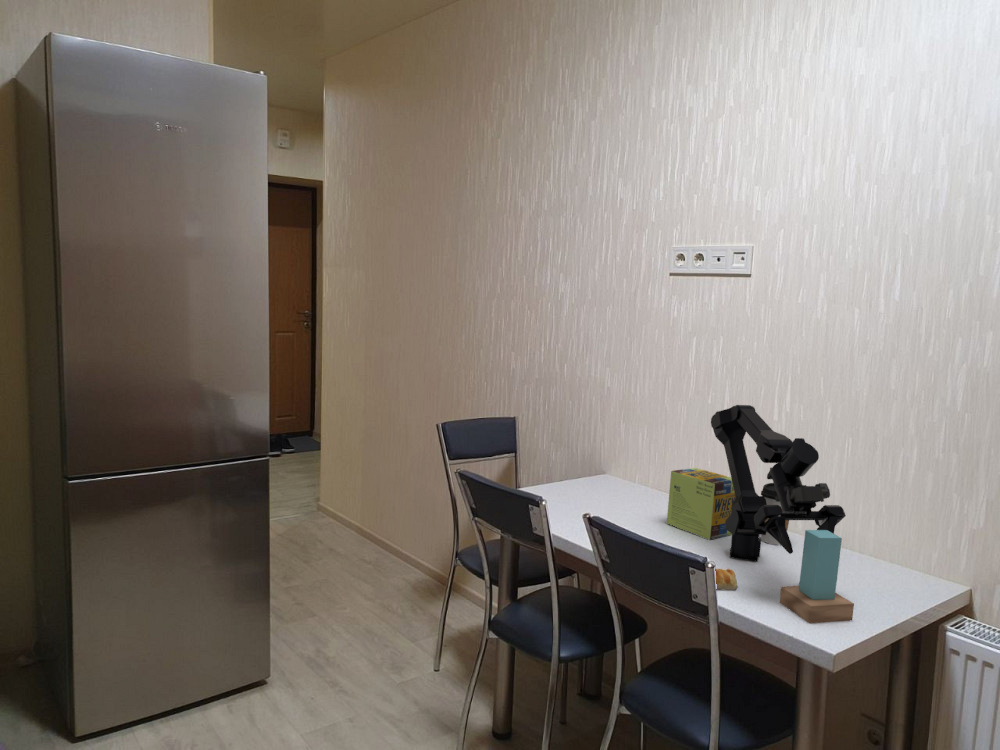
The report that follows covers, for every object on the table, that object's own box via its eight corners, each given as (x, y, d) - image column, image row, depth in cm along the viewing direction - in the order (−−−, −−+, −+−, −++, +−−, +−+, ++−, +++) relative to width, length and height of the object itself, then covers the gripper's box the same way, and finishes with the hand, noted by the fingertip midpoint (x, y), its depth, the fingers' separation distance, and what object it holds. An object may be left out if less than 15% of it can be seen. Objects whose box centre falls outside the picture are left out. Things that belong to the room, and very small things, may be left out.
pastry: (698, 591, 165) (699, 574, 165) (687, 579, 172) (689, 563, 171) (739, 592, 166) (741, 575, 166) (727, 580, 173) (729, 564, 172)
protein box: (710, 540, 199) (715, 483, 198) (665, 524, 212) (670, 470, 210) (735, 534, 206) (739, 479, 204) (690, 519, 218) (694, 466, 216)
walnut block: (779, 604, 161) (781, 586, 160) (819, 602, 163) (821, 584, 163) (809, 625, 151) (811, 606, 151) (851, 622, 154) (854, 603, 153)
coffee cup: (793, 540, 203) (798, 486, 201) (785, 548, 196) (790, 492, 194) (761, 533, 207) (766, 480, 206) (752, 541, 200) (757, 486, 199)
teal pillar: (798, 589, 159) (805, 529, 157) (820, 589, 160) (827, 530, 158) (812, 599, 154) (819, 537, 152) (834, 599, 155) (841, 538, 153)
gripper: (765, 468, 161) (787, 536, 151) (845, 469, 164) (871, 535, 154) (744, 493, 169) (764, 559, 160) (821, 494, 172) (844, 558, 163)
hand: (811, 552), depth 159 cm, fingers open, 9 cm apart
